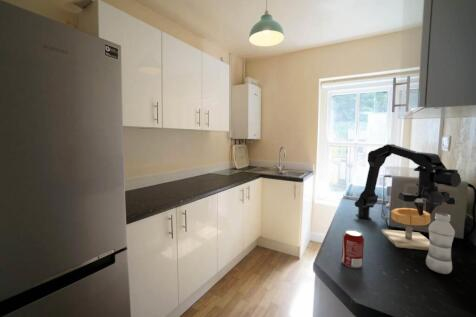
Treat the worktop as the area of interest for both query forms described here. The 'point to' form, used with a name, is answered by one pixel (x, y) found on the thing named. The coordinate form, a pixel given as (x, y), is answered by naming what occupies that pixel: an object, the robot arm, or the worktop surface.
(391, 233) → the hook stand
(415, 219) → the orange octagonal ring
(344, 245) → the soda can
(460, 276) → the worktop surface
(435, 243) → the plastic bottle
